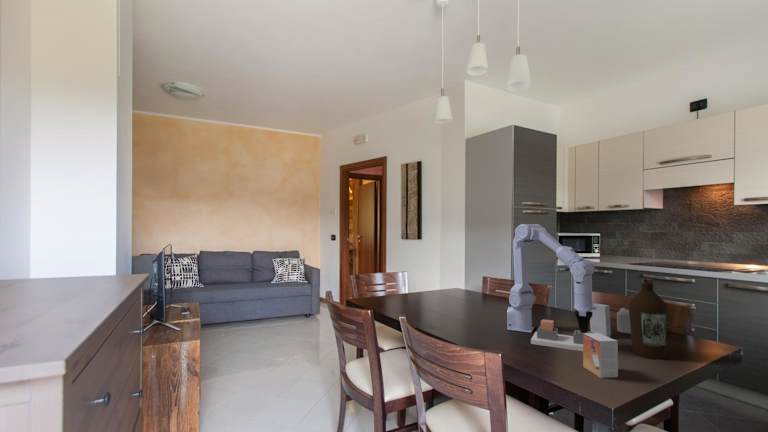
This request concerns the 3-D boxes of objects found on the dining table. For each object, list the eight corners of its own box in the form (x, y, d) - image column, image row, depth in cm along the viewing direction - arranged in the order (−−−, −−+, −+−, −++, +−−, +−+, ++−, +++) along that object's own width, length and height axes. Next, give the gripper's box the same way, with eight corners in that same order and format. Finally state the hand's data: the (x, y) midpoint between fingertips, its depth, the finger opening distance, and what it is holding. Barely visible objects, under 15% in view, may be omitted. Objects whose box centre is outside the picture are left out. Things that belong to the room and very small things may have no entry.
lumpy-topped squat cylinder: (614, 330, 153) (613, 309, 153) (625, 325, 161) (625, 304, 161) (644, 336, 145) (643, 314, 145) (654, 330, 153) (653, 308, 153)
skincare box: (611, 336, 145) (610, 305, 145) (606, 338, 142) (606, 306, 142) (594, 333, 150) (593, 302, 150) (589, 335, 147) (588, 304, 147)
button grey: (577, 342, 133) (577, 332, 133) (578, 339, 136) (577, 329, 136) (590, 344, 131) (590, 334, 131) (590, 341, 134) (590, 331, 134)
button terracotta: (540, 331, 139) (540, 321, 139) (542, 328, 142) (542, 319, 142) (552, 332, 137) (552, 323, 137) (553, 329, 140) (553, 320, 140)
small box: (582, 367, 114) (582, 332, 114) (600, 366, 114) (599, 332, 115) (600, 378, 106) (599, 341, 106) (618, 377, 106) (618, 340, 107)
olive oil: (624, 348, 131) (623, 276, 132) (659, 350, 129) (657, 277, 129) (637, 358, 121) (636, 281, 121) (675, 361, 119) (673, 282, 119)
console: (530, 343, 137) (530, 331, 137) (535, 335, 147) (535, 323, 147) (600, 353, 126) (600, 340, 126) (600, 343, 136) (600, 331, 136)
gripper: (595, 298, 126) (596, 339, 125) (596, 291, 138) (596, 328, 138) (572, 296, 129) (573, 336, 129) (574, 290, 142) (575, 326, 141)
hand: (583, 332), depth 134 cm, fingers closed, pressing on button grey
